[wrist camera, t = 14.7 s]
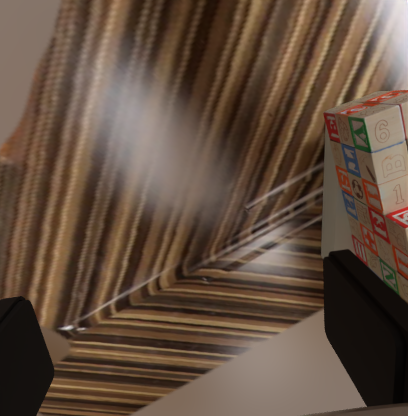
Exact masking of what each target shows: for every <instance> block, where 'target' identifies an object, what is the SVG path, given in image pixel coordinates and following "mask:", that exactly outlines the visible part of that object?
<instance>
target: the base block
mask: <svg viewBox="0 0 408 416" xmlns="http://www.w3.org/2000/svg"><path fill="white" fill-rule="evenodd" d="M329 141H330V138H329V134H328V130H327V126H326V123H325V152H324V181H323V210H322V239H321V257H322V258H323V259H324V257H328V255H329V252H330V251H337V250H344V249H349V250H351V251H352V252H353V253H354V254H355V255H356V253H355V249H354V244H353V240H352V232H351V228H350V224H349V220H348V215H347V211H346V208H345V203H344V199H343V195H342V190H341V188H340V185H339V181H338V176H337V172H336V167H335V163H334V159H333V154H332V150H331V146H330V142H329Z"/></svg>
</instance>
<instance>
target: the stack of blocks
mask: <svg viewBox="0 0 408 416" xmlns="http://www.w3.org/2000/svg"><path fill="white" fill-rule="evenodd" d="M323 114H324V118H325V122H326V126H327V130H328V134H329V138H330V141H329V142H330V146H331V150H332V154H333V159H334V163H335V167H336V172H337V176H338V181H339V185H340V188H341V190H342V195H343V199H344V203H345V208H346V211H347V215H348V220H349V224H350V228H351V232H352V240H353V244H354V249H355V253H356V256H357V257H358V258H359V259H360V260H361V261H362V262H363V263H364V264H365V265H366V266H367V267H368V268H369V269H371V270H372V271H373V272H374V273H375V274H376V275H377V276H378V277H379V278H380V279H381V280H382V281H383V282H384V283H385V284H386V285H387V286H389V287H390V288H392V289H393V290H394V291H395V292H396V293H397V294H398V295H399V296H400V297H401V298H402V299H403V300H405V301H406V302H407V303H408V90H400V91H380V92H375V93H372V94H370V95H367V96H364V97H362V98H359V99H356V100H354V101H351V102H348V103H345V104H342V105H340V106H337V107H334V108H332V109H329V110H327V111H325V112H324V113H323Z"/></svg>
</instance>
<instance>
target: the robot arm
mask: <svg viewBox="0 0 408 416" xmlns="http://www.w3.org/2000/svg"><path fill="white" fill-rule="evenodd" d="M323 275H324V322H325V332H326V335H327V338H328V340H329V342H330V344H331V345H332V347H333V349H334V350H335V352H336V354H337V355H338V357H339V359H340V361H341V362H342V364H343V366H344V368H345V369H346V371H347V373H348V374H349V376H350V378H351V380H352V381H353V383H354V385H355V386H356V388H357V390H358V392H359V393H360V395H361V397H362V399H363V400H364V402H365V404H366V405H367V407H360V408H353V409H346V410H340V411H332V412H324V413H316V414H309V415H302V416H408V303H407V302H406V301H405V300H403V299H402V298H401V297H400V296H399V295H398V294H397V293H396V292H395V291H394V290H393V289H392V288H390V287H389V286H387V285H386V284H385V283H384V282H383V281H382V280H381V279H380V278H379V277H378V276H377V275H376V274H375V273H374V272H373V271H372V270H371V269H369V268H368V267H367V266H366V265H365V264H364V263H363V262H362V261H361V260H360V259H359V258H358V257H357V256H356V255H355V254H354V253H353V252H352V251H351V250H349V249H344V250H337V251H330V252H329V255H328V257H324V259H323ZM53 377H54V366H53V363H52V360H51V358H50V355H49V352H48V349H47V346H46V344H45V341H44V338H43V335H42V332H41V329H40V326H39V323H38V321H37V318H36V315H35V312H34V309H33V306H32V304H31V302H30V301H29V300H25V298H24V297H22V296H20V297H13V298H6V299H1V300H0V416H36V415H37V413H38V411H39V408H40V406H41V404H42V402H43V400H44V398H45V395H46V393H47V391H48V389H49V387H50V385H51V383H52V380H53Z"/></svg>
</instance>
